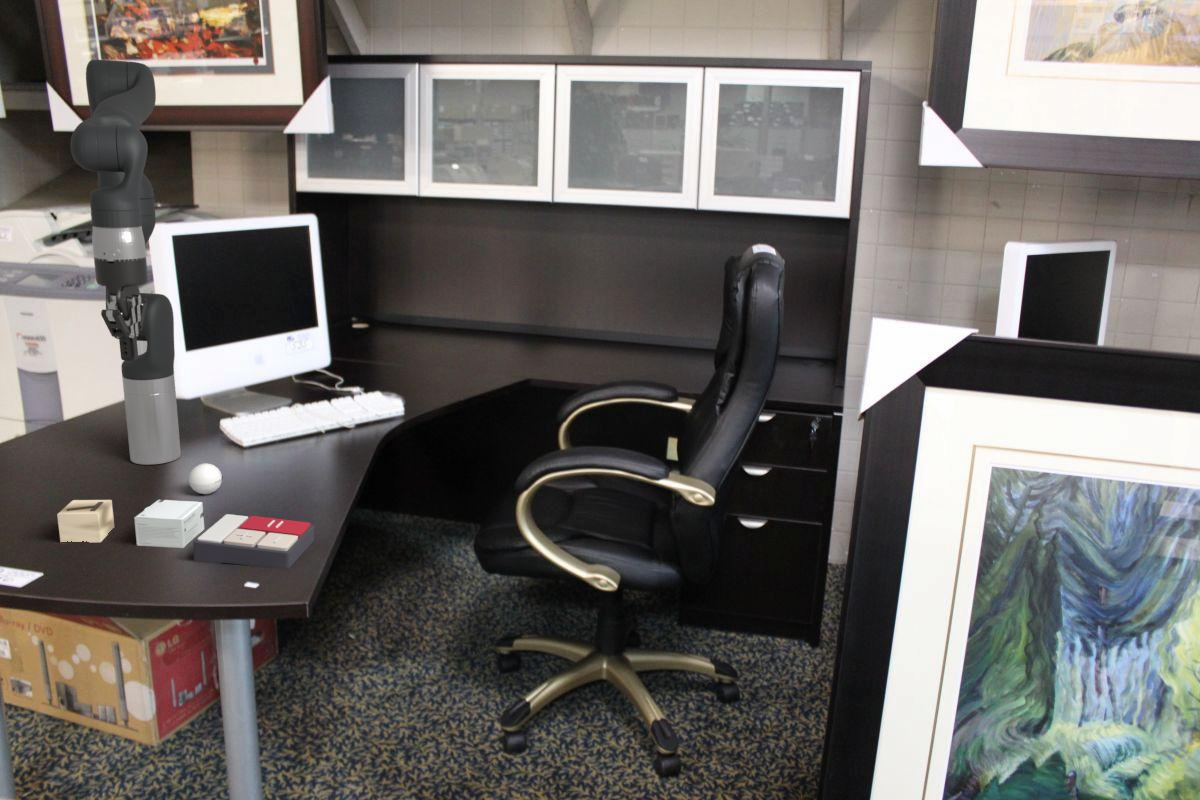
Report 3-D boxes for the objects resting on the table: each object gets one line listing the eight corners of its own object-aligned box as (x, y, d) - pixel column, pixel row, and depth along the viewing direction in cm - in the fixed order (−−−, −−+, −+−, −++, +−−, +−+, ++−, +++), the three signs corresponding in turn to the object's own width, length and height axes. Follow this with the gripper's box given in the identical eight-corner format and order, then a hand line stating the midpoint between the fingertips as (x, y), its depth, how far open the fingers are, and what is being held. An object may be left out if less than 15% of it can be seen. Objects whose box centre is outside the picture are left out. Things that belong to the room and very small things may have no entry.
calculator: (288, 548, 143) (192, 536, 144) (288, 574, 145) (192, 562, 145) (315, 520, 154) (225, 509, 155) (314, 544, 155) (225, 534, 156)
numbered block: (76, 528, 156) (72, 499, 154) (114, 528, 156) (111, 498, 155) (60, 543, 150) (57, 513, 148) (100, 543, 151) (97, 513, 149)
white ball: (212, 500, 169) (210, 470, 168) (183, 497, 170) (181, 467, 169) (235, 485, 177) (233, 457, 175) (207, 482, 177) (205, 454, 176)
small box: (184, 549, 150) (181, 519, 148) (135, 546, 150) (132, 516, 149) (205, 529, 157) (203, 501, 156) (159, 527, 157) (157, 498, 156)
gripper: (112, 249, 157) (122, 350, 162) (77, 259, 145) (88, 368, 149) (159, 250, 158) (167, 351, 163) (127, 260, 145) (137, 369, 150)
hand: (129, 359), depth 156 cm, fingers closed
